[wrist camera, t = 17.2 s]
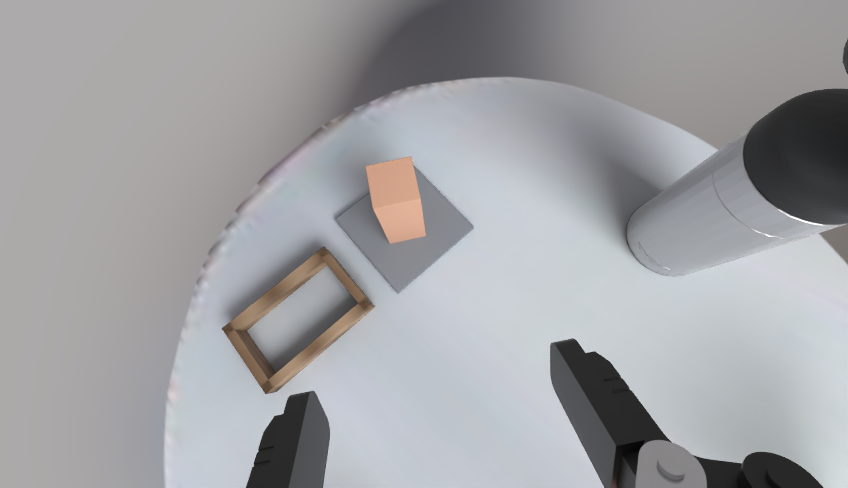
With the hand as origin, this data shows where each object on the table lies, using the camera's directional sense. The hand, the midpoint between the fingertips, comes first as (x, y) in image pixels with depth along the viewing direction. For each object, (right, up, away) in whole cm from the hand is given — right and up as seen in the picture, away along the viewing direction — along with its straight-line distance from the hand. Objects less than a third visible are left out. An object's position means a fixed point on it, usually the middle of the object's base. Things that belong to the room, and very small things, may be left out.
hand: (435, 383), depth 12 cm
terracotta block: (-3, +7, +31) cm, 32 cm away
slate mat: (-3, +7, +32) cm, 33 cm away
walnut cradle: (-14, -4, +30) cm, 33 cm away
